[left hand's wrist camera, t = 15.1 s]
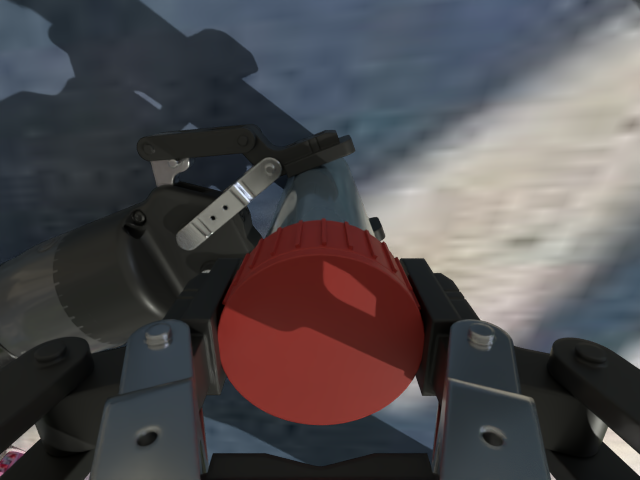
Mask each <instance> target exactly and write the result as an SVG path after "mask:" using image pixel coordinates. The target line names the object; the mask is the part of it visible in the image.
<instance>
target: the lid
mask: <svg viewBox="0 0 640 480" xmlns="http://www.w3.org/2000/svg"><path fill="white" fill-rule="evenodd" d="M222 304H223V305H225V306H224V309H223V311H222V313H221V316H220V319H219V323H218V328H217V334H218V343H219V351H220V359H221V365H222V367H223V370H224V372H225V374H226V375H227V377H228V379H229V381H230V382H231V383H232V385H233V386H234V387H235V388H236V390H237V391H238V392H239V393H240V394H241V395H242V396H243V397H244V398H245V399H247V400H248V401H249V402H251V403H252V404H253V405H255V406H256V407H258V408H259V409H261V410H263V411H265V412H267V413H269V414H271V415H273V416H275V417H278V418H281V419H284V420H287V421H292V422H296V423H302V424H309V425H333V424H340V423H346V422H350V421H354V420H358V419H361V418H363V417H366V416H369V415H371V414H373V413H375V412H377V411H379V410H381V409H382V408H384V407H385V406H387V405H389V404H390V403H391V402H392V401H394V400H395V399H396V398H397V397H399V396H400V394H401V393H402V392H403V391H404V390H405V389H406V388H407V387H408V385H409V384H410V383H411V381H412V380H413V379H414V377H415V375H416V373H417V371H418V369H419V366H420V364H421V361H422V354H423V346H424V338H425V332H424V324H423V321H422V317H421V314H420V312H419V310H421V307H420V305H419V303H418V300H417V298H416V296H415V294H414V292H413V290H412V287H411V285H410V282H409V280H408V278H407V276H406V274H405V272H404V270H403V268H402V265H401V263H400V261H399V259H398V257H396V258H394V257H393V255H392V254H391V252H390V251H389V249H388V247H387V245H386V243H385V242H382V243H381V242H380V241H379V240H378V239H377V238H375V237H374V236H372V235H371V234H370V233H369V231H368V230H365V231H364V230H362V229H360V228H357V227H355V226H352V225H349V223H348V222H346V221H345V222H344V223H342V222H336V221H327V220H326V219H325V218H322V220H315V221H305V222H303V220H300V221H299V223H296V224H293V225H290V226H287V227H284V228H281V227H279V228H278V229H277V231H276V232H274V233H272V234H271V235H269V236H268V237H266V238H265V239H263V238H261V239H260V240H259V242H258V245H257V246H256V247H255V248H254V249H253V251H252V252H251V253H250V254H249V253H247V254H246V255H245V258H244V260H243V262H242V264H241V266H240V268H239V270H237V272H236V275H235V277H234V279H233V281H232V283H231V285H230V287H229V290H228V292H227V294H226V296H225V298H224V300H223V303H222Z"/></svg>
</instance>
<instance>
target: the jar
mask: <svg viewBox="0 0 640 480" xmlns="http://www.w3.org/2000/svg"><path fill="white" fill-rule="evenodd" d="M322 218H325V219H326V220H327V221H336V222H342V223H344V222H345V221H346V222H348V223H349V225H352V226H355V227H357V228H360V229H362V230H364V231H365V230H368V231H369V233H370V234H371V235H372V236H374V237H375V234H374V231H373V229H372V226H371V224H370V221H369V218H368V216H367V213H366V210H365V208H364V205H363V203H362V200H361V197H360V195H359V192H358V189H357V187H356V184H355V181H354V179H353V176H352V174H351V171H350V168H349V166H348V164H347V162H346V161H345V160H344V158H343V157H342V158H339V159H337V160H334V161H332V162H329V163H326V164H324V165H321V166H319V167H316V168H314V169H311V170H308V171H305V172H303V173H301V174H298V175H296V176H293V177H291V178H288V180H287V182H286V185H285V188H284V190H283V193H282V196H281V198H280V201H279V203H278V206H277V209H276V211H275V214H274V217H273V219H272V222H271V225H270V227H269V230H268V233H267V235H266V237H268V236H269V235H271V234H272V233H274V232H276V231H277V229H278V228H279V227H281V228H284V227H287V226H290V225H293V224H296V223H299V221H300V220H303V222H305V221H315V220H322ZM375 238H376V237H375Z"/></svg>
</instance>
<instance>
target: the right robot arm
mask: <svg viewBox="0 0 640 480" xmlns="http://www.w3.org/2000/svg"><path fill="white" fill-rule="evenodd" d="M137 151H138V153H139V155H140V156H141V157H142V158H143V159H145V160H147V161H150V162H151V166H152V170H153V174H154V177H155V181H156V185H157V187H156V188H155V189H154V190H153V191H152V192H151V193H150V195H149V196H148V198H147V199H146V200H145V201H143V202H141V203H139V204H136V205H134V206H131V207H129V208H126V209H124V210H121V211H119V212H116V213H114V214H111V215H109V216H106V217H104V218H101V219H99V220H97V221H94V222H91V223H89V224H87V225H84V226H82V227H79V228H77V229H74V230H72V231H70V232H67V233H64V234H62V235H59V236H57V237H54V238H51V239H49V240H47V241H45V242H42V243H40V244H38V245H36V246H34V247H32V248H30V249H29V250H27V251H25V252H24V253H22V254H20V255H19V256H17V257H15V258H13V259H11V260H9V261H6V262H4V263H1V264H0V369H2V368H3V367H5V366H6V365H8V364H9V363H11V362H12V361H14V360H15V359H16V358H18V357H19V356H21V355H22V354H24V353H25V352H27V351H28V350H30V349H32V348H34V347H35V346H37V345H40V344H42V343H44V342H47V341H50V340H53V339H57V338H62V337H80V338H83V339H85V340H86V341H87V342H88V344H89V347H90V350H91V353H96V352H100V351H102V350H105V349H108V348H116V347H119V346H121V345H123V344H125V343H127V341H128V339H129V337H130V336H131V334H132V333H134V332H135V331H136V330H137V329H139V328H140V327H142V326H144V325H146V324H149V323H152V322H155V321H159V320H162V319H163V318H164V316H165V315H166V314H167V312H168V311H169V309H170V308H171V306H172V305H173V303H174V302H175V301H176V299H178V296H179V295H180V293H181V292H182V291H183V289H184V288H185V286H186V285H187V283H188V282H189V280H191V279H193V278H194V277H196V276H197V275H199V274H200V273H209V272H210V270H211V269H212V267H213V265H214V264H215V262H216V260H217V259H218V258H241V259H242V261H243V260H244V258H245V255H246V254H247V253H249V254H250V253H251V252H252V251H253V249H254V248H255V247H256V246H257V245H258V242H259V240H260V239H261V238H262V236H261V235H260V233H259V232H258V231H257V230H256V229H255V228H254V226H253V225H252V220H251V215H250V211H249V209H248V207H247V205H248V204H249V203H250V202H251V201H252V200H253V199H254V198H255V197H256V196H257V195H258V194H259V193H261V192H262V191H263V190H264V189H266V188H267V187H268V186H269V185H270V184H272V183H273V182H274V181H275V180H276V179H278V178H279V177H280V176H283V175H285V174H287V176H288V178H291V177H293V176H296V175H298V174H301V173H303V172H305V171H308V170H311V169H314V168H316V167H319V166H321V165H324V164H326V163H329V162H332V161H334V160H337V159H339V158H342V157H344V156H347V155H349V154H351V153H353V152H355V148H354V145H353V142H352V139H351V137H350V136H349V135H346V136H343V137H340V138H338V135H337V133H336V130H325V131H322V132H320V133H317V134H315V135H312V136H310V137H307V138H305V139H302V140H300V141H297V142H295V143H292V144H290V145H287V146H285V147H277V146H274V145H273V144H271V143H270V142H269V141H268V140H267V139H266V137H265V136H264V135H263V134H262V132H261V130H260V128H259V127H258V126H256V125H254V124H246V125H235V126H224V127H213V128H203V129H192V130H181V131H170V132H163V133H159V134H155V135H151V136H147V137H143V138H141V139H140V140H139V141H138V143H137ZM239 153H242V154H243V155H244V156H245V157H246V158H247V159H248V160H249V161H250V162H251V163H252V164H253V166H252V167H251V168H250V169H249V170H248V171H246V172H245V173H244V174H243V175H241V176H240V177H239V178H238V179H237V180H236V181H234V182H233V183H232V184H231V185H230V186H229V187H227V188H226V189H225V190H224V191H223V192H222V191H218V190H214V189H210V188H206V187H202V186H198V185H194V184H190V183H186V182H182V181H179V175H180V173H181V172H183V171H185V170H187V169H189V168H191V167H192V166H193V164H194V162H195V157H205V156H216V155H228V154H239ZM369 221H370V224H371V226H372V229H373V231H374V234H375V237H376V238H377V239H378V240H379V241H381V240H383V239H384V238H385V234H384V231H383V228H382V225H381V223H380V221H379V219H378V218H377V217H373V218H369Z"/></svg>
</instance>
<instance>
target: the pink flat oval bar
mask: <svg viewBox="0 0 640 480" xmlns="http://www.w3.org/2000/svg"><path fill="white" fill-rule="evenodd" d="M23 455H24V454H22V453H19V452H13V451H11V452H8V453H7V454H6V455H5V456H4V458H3V459H2V460H1V461H0V476H1V475H2V474H3V473H4V472H5V471H7V470H8V469H9V468H10V467H11V466H12V465H13V464H14V463H15V462H16V461H17V460H18V459H19V458H20V457H21V456H23Z"/></svg>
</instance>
